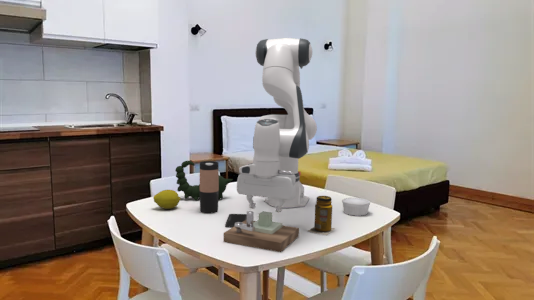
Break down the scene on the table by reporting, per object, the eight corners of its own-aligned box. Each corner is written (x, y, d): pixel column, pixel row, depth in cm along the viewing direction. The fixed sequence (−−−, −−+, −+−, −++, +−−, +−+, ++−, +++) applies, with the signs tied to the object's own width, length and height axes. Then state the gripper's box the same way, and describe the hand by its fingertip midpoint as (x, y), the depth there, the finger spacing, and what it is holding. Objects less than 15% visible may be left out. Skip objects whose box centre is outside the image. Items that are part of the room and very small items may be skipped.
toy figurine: (178, 206, 182) (235, 199, 186) (173, 163, 180) (231, 158, 183) (179, 200, 192) (233, 194, 195) (175, 160, 189) (230, 155, 193)
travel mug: (208, 207, 175) (208, 160, 172) (222, 210, 170) (222, 162, 168) (195, 211, 169) (195, 162, 166) (209, 215, 164) (209, 164, 162)
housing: (246, 227, 149) (246, 215, 149) (298, 236, 141) (299, 223, 141) (223, 241, 135) (223, 228, 134) (280, 252, 127) (281, 238, 126)
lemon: (181, 206, 176) (181, 187, 175) (179, 211, 168) (179, 192, 167) (155, 206, 175) (155, 187, 174) (152, 211, 167) (151, 192, 166)
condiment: (335, 228, 150) (336, 196, 149) (326, 235, 143) (328, 201, 141) (316, 225, 154) (317, 193, 152) (307, 232, 146) (308, 198, 145)
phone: (249, 214, 164) (246, 226, 149) (249, 217, 164) (246, 229, 149) (229, 213, 164) (224, 225, 149) (229, 216, 164) (224, 228, 149)
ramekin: (341, 208, 178) (342, 196, 177) (368, 210, 176) (369, 198, 175) (341, 216, 167) (342, 203, 166) (370, 218, 165) (371, 205, 164)
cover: (258, 222, 146) (259, 208, 145) (282, 226, 142) (283, 211, 141) (247, 230, 138) (247, 214, 137) (272, 234, 134) (272, 218, 133)
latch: (232, 227, 135) (233, 209, 134) (238, 225, 137) (238, 207, 136) (250, 231, 131) (251, 213, 130) (256, 229, 133) (256, 211, 132)
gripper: (299, 170, 136) (298, 211, 137) (243, 165, 144) (242, 204, 145) (292, 173, 130) (291, 216, 131) (234, 167, 138) (234, 208, 140)
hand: (265, 210), depth 139 cm, fingers open, 8 cm apart
